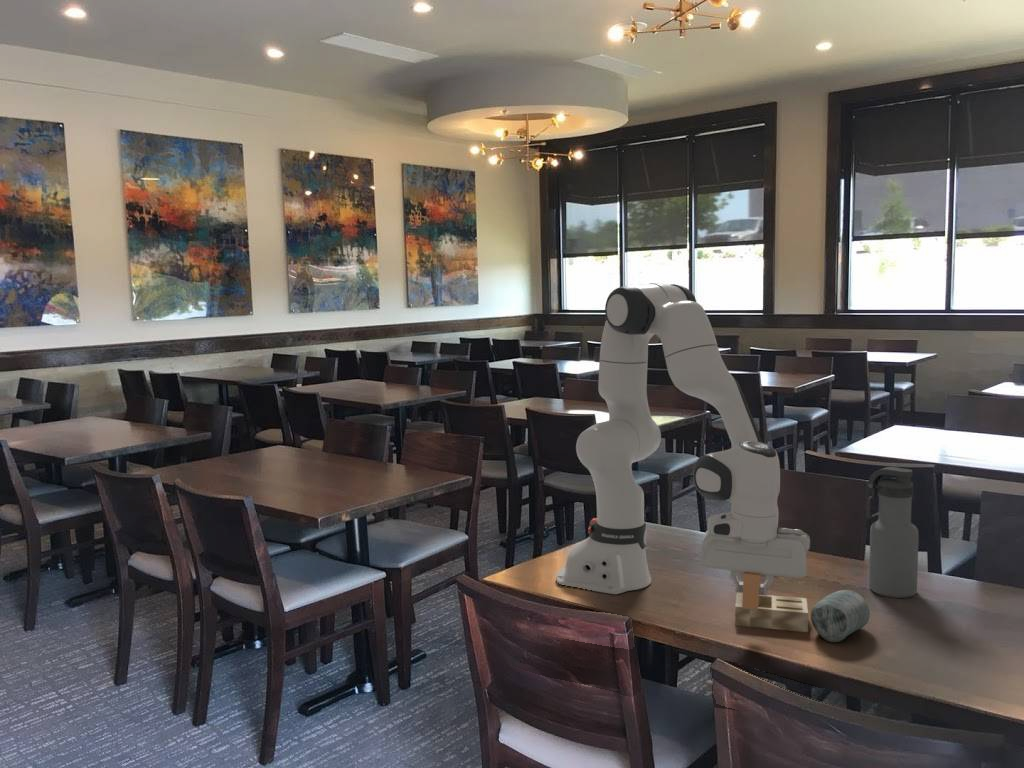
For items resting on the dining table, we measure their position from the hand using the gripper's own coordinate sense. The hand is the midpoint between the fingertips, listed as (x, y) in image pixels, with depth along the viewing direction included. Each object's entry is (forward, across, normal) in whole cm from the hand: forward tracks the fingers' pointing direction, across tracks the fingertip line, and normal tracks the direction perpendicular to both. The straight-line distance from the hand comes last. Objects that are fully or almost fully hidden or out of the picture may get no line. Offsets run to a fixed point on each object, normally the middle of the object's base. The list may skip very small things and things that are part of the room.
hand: (750, 592), depth 159 cm
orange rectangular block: (+2, 0, 0) cm, 2 cm away
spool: (+8, -17, -5) cm, 20 cm away
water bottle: (+8, -30, -32) cm, 45 cm away
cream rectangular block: (+9, -4, -8) cm, 13 cm away
